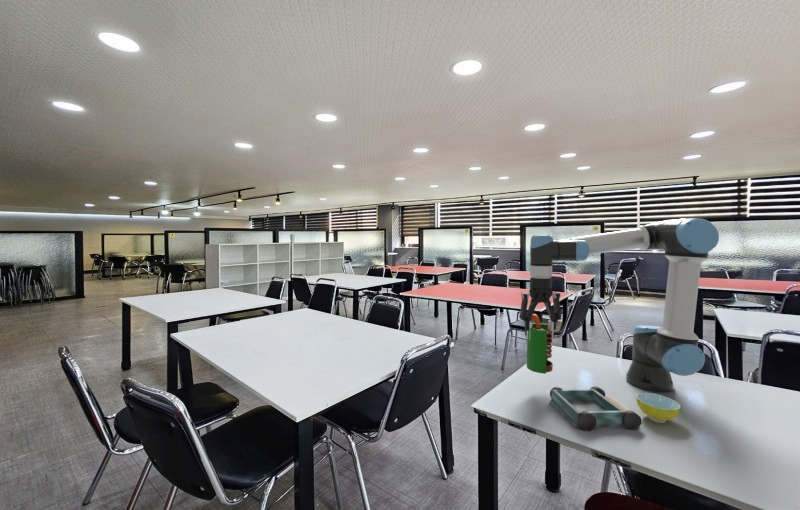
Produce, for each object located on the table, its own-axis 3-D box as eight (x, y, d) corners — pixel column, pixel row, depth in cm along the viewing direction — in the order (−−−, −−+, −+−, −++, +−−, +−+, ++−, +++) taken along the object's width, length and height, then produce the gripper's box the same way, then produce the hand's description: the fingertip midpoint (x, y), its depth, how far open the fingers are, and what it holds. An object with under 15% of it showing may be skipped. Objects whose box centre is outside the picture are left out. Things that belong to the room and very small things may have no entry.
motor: (555, 374, 123) (555, 318, 122) (529, 372, 125) (529, 317, 123) (549, 363, 133) (549, 312, 132) (524, 362, 135) (524, 311, 133)
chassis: (602, 399, 124) (603, 386, 124) (642, 429, 105) (643, 413, 105) (548, 400, 123) (548, 386, 123) (578, 430, 104) (578, 414, 104)
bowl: (689, 427, 106) (690, 408, 106) (657, 430, 104) (658, 410, 104) (656, 409, 117) (657, 391, 117) (626, 411, 115) (627, 393, 115)
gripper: (562, 275, 131) (561, 335, 132) (509, 276, 130) (509, 336, 131) (573, 278, 124) (572, 341, 125) (517, 278, 123) (517, 342, 124)
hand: (540, 338), depth 128 cm, fingers closed on motor, 7 cm apart
